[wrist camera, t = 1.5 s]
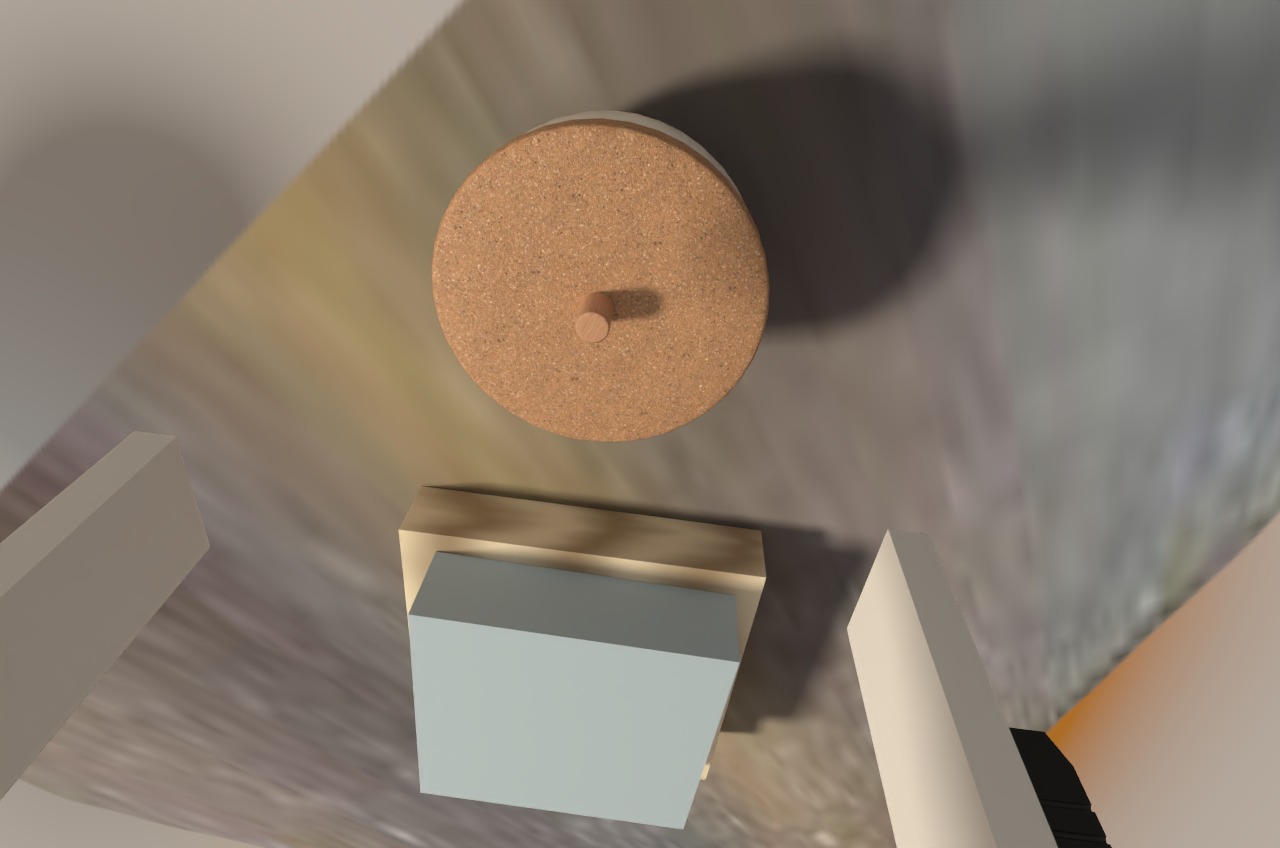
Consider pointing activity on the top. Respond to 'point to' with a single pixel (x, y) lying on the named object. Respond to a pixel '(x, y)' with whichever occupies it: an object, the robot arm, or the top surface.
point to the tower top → (567, 688)
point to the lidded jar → (602, 277)
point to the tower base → (586, 548)
